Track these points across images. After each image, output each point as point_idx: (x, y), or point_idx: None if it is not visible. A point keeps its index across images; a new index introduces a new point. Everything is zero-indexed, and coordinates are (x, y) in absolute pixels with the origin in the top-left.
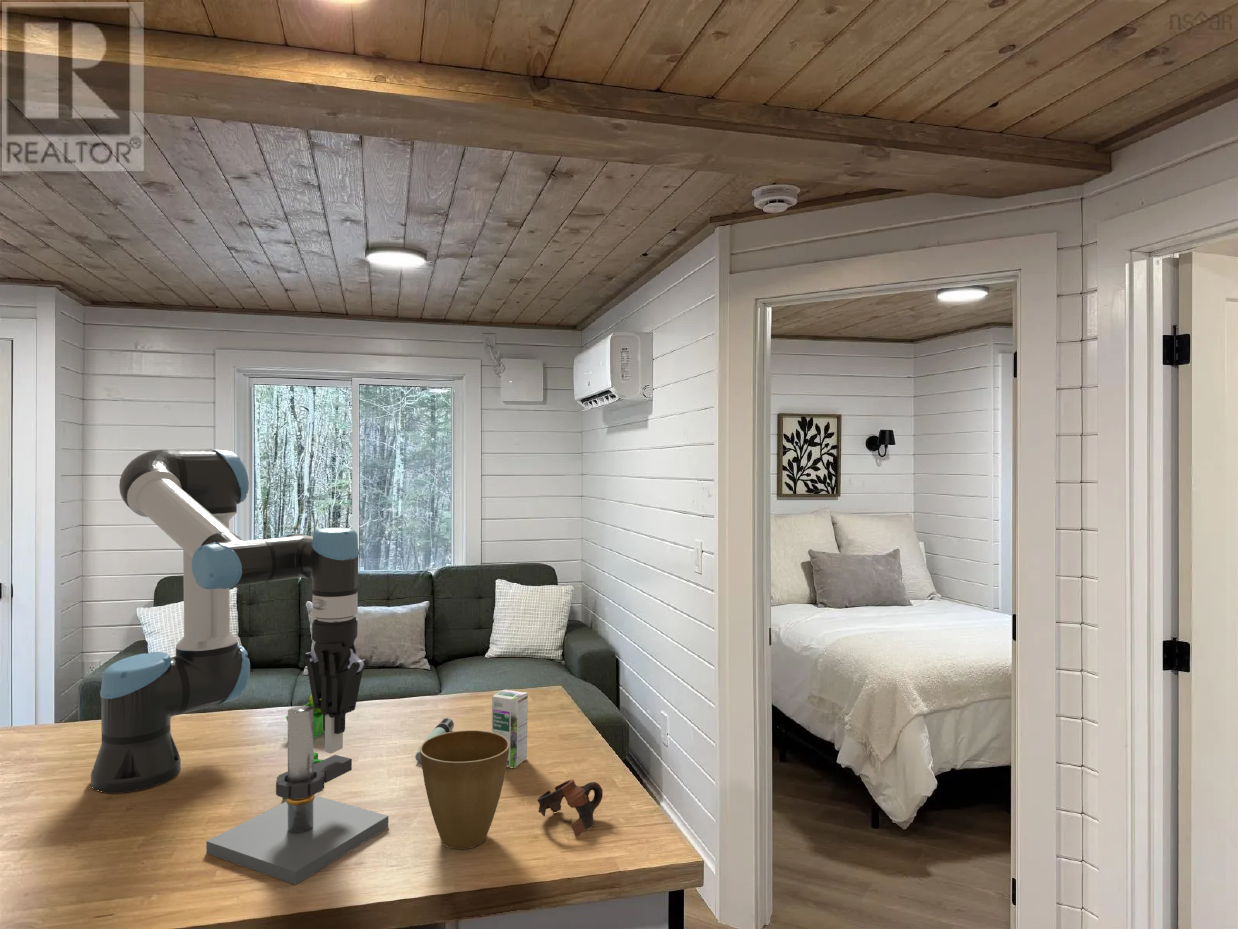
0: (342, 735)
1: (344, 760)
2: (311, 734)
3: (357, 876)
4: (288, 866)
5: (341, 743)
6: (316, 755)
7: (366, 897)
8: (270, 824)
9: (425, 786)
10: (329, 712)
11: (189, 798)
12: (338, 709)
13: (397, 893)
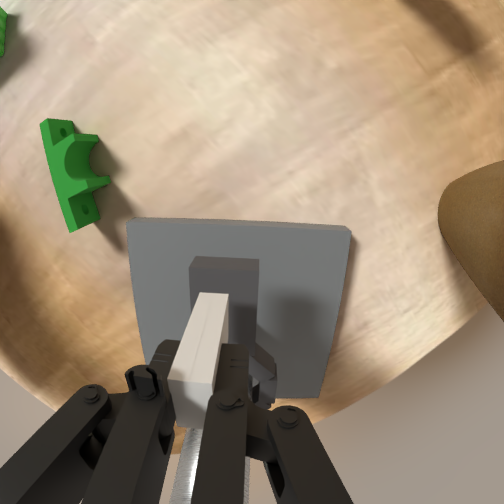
0: (223, 318)
1: (247, 288)
2: (247, 473)
3: (376, 346)
4: (301, 395)
5: (226, 308)
6: (49, 124)
7: (404, 366)
8: (179, 334)
9: (481, 291)
10: (174, 417)
11: (15, 278)
12: (246, 455)
13: (431, 346)
